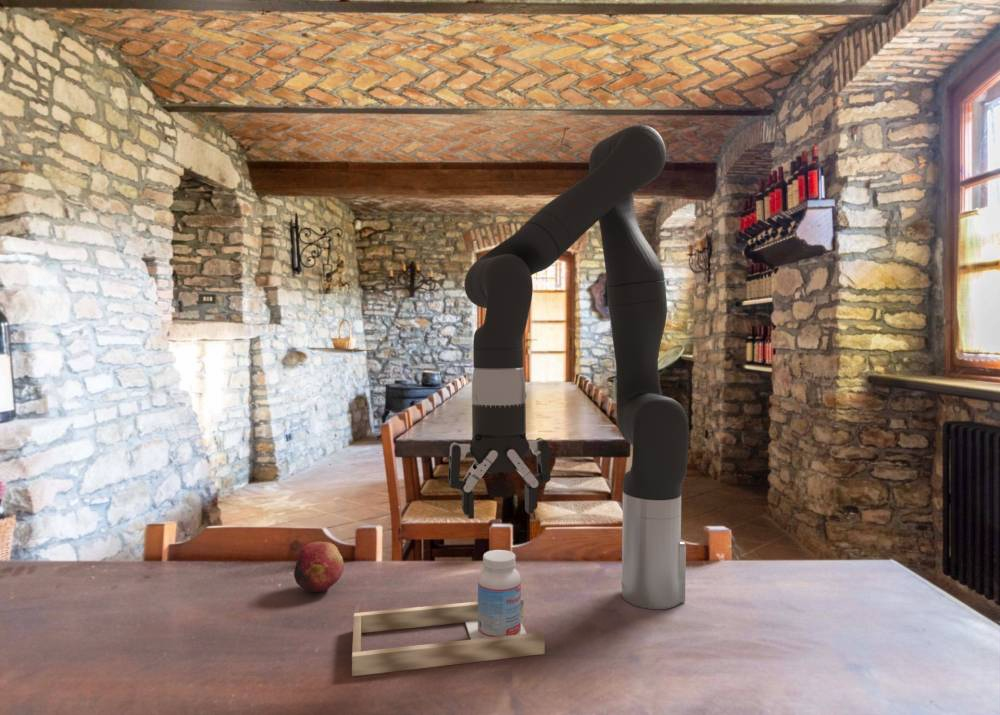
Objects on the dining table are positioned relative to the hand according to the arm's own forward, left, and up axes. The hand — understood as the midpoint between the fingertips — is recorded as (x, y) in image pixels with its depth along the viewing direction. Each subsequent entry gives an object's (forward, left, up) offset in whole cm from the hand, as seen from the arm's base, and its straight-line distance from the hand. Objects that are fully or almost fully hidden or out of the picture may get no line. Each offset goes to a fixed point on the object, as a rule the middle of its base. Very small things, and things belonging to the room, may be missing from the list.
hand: (499, 514), depth 84 cm
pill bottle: (0, 0, -17) cm, 17 cm away
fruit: (+26, -21, -18) cm, 38 cm away
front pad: (0, 0, -17) cm, 17 cm away
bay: (+8, 0, -17) cm, 19 cm away
